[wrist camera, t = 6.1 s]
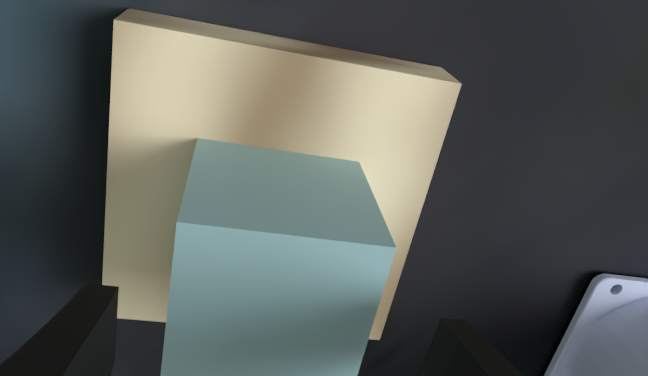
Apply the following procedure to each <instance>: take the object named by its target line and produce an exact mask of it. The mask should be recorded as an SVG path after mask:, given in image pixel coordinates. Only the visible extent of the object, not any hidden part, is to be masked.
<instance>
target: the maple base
mask: <svg viewBox="0 0 648 376" xmlns="http://www.w3.org/2000/svg"><path fill="white" fill-rule="evenodd" d="M461 85H462V84H461V83H460V82H459V81H458V80H456V79H455V78H454V77H453V76H451V75H450V74H449V73H448V72H446V71H445V70H444V69H443V68H441V67H436V66H431V65H426V64H420V63H415V62H410V61H405V60H399V59H394V58H389V57H384V56H378V55H373V54H368V53H362V52H357V51H352V50H347V49H341V48H336V47H331V46H325V45H320V44H315V43H310V42H304V41H299V40H294V39H288V38H283V37H278V36H273V35H267V34H262V33H257V32H252V31H246V30H241V29H236V28H230V27H225V26H220V25H215V24H209V23H204V22H199V21H193V20H188V19H183V18H178V17H172V16H167V15H162V14H156V13H151V12H146V11H141V10H135V9H130V8H129V9H127V10H126V11H125V12H123V13H122V14H120V15H119V16H118V17H116V18H115V19H114V22H113V46H112V69H111V92H110V115H109V138H108V161H107V184H106V207H105V230H104V253H103V276H102V285H107V286H117V287H119V292H118V308H117V318H121V319H133V320H145V321H157V322H166V319H167V309H168V300H169V290H170V281H171V271H172V262H173V252H174V243H175V233H176V224H177V219H178V215H179V211H180V207H181V203H182V199H183V195H184V191H185V187H186V183H187V179H188V175H189V171H190V167H191V163H192V159H193V155H194V151H195V147H196V143H197V139H198V138H201V139H208V140H214V141H221V142H228V143H235V144H242V145H248V146H255V147H262V148H269V149H276V150H282V151H289V152H296V153H303V154H309V155H316V156H323V157H330V158H337V159H343V160H350V161H357V162H360V165H361V167H362V169H363V172H364V174H365V176H366V179H367V181H368V183H369V185H370V188H371V190H372V192H373V195H374V197H375V199H376V202H377V204H378V206H379V209H380V211H381V213H382V215H383V218H384V220H385V222H386V225H387V227H388V229H389V232H390V234H391V236H392V239H393V241H394V243H395V245H396V251H395V254H394V258H393V261H392V264H391V267H390V271H389V274H388V277H387V280H386V284H385V287H384V290H383V293H382V297H381V300H380V303H379V306H378V310H377V313H376V316H375V320H374V323H373V326H372V329H371V333H370V336H369V339H373V340H380V337H381V334H382V331H383V328H384V325H385V322H386V319H387V316H388V313H389V309H390V306H391V303H392V300H393V297H394V294H395V291H396V288H397V284H398V281H399V278H400V275H401V272H402V269H403V266H404V263H405V259H406V256H407V253H408V250H409V247H410V244H411V241H412V238H413V234H414V231H415V228H416V225H417V222H418V219H419V216H420V213H421V209H422V206H423V203H424V200H425V197H426V194H427V191H428V188H429V184H430V181H431V178H432V175H433V172H434V169H435V166H436V163H437V159H438V156H439V153H440V150H441V147H442V144H443V141H444V138H445V134H446V131H447V128H448V125H449V122H450V119H451V116H452V113H453V110H454V106H455V103H456V100H457V97H458V94H459V91H460V88H461Z"/></svg>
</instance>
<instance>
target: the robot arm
mask: <svg viewBox="0 0 648 376" xmlns="http://www.w3.org/2000/svg"><path fill="white" fill-rule="evenodd" d="M613 286H615V287H613ZM612 287H613V288H612ZM118 292H119V287H117V286H107V285H97V284H87V285H85V286H84V287H82V288H81V289H80V291H79V292H78V293H77V294H76V295H75V296H74V297H73V298H72V299H71V300H70V301H69V302H68V303H67V304H66V305H65V306H64V307H63V308H62V309H61V310H60V311H59V312H58V313H57V314H56V315H55V316H54V317H53V318H52V319H51V320H50V321H49V322H48V323H47V324H46V325H45V326H43V327H42V328H41V329H40V330H39V331H38V332H37V333H36V334H35V335H34V336H32V337H31V338H30V339H29V340H28V341H27V342H26V343H25V344H24V345H23V346H22V347H20V348H19V349H18V350H17V351H16V352H15V353H14V354H12V355H11V356H10V357H9V358H8V359H6V360H5V361H4V362H3V363H1V364H0V376H111V372H112V368H113V365H114V359H115V342H116V325H117V308H118ZM420 376H523V375H522V374H521V373H520V372H519V371H518V370H517V369H516V368H515V367H514V366H513V365H512V364H511V363H510V362H509V361H508V360H507V359H506V358H505V357H503V356H502V355H501V354H500V353H499V352H498V351H497V350H496V349H495V348H494V347H493V346H492V345H491V344H490V343H489V342H488V341H487V340H486V339H485V338H484V337H483V336H482V335H481V334H480V333H479V332H477V331H476V330H475V329H474V328H473V327H472V326H471V325H470V324H468V323H467V322H466V321H464V320H454V319H444V318H441V319H440V322H439V324H438V327H437V330H436V332H435V335H434V338H433V340H432V343H431V346H430V349H429V351H428V354H427V357H426V359H425V362H424V365H423V367H422V370H421V373H420ZM544 376H648V279H647V278H639V277H630V276H622V275H613V274H600V275H597V276H596V277H595V278H593V280H592V281H591V282H590V284H589V286H588V288H587V290H586V292H585V294H584V296H583V298H582V300H581V302H580V304H579V306H578V308H577V310H576V312H575V314H574V316H573V318H572V320H571V322H570V324H569V326H568V328H567V330H566V332H565V334H564V336H563V338H562V340H561V342H560V344H559V346H558V348H557V350H556V352H555V354H554V356H553V358H552V360H551V362H550V364H549V366H548V368H547V370H546V372H545V374H544Z"/></svg>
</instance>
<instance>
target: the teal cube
mask: <svg viewBox="0 0 648 376" xmlns="http://www.w3.org/2000/svg"><path fill="white" fill-rule="evenodd" d="M395 251H396V245H395V243H394V241H393V239H392V236H391V234H390V232H389V229H388V227H387V225H386V222H385V220H384V218H383V215H382V213H381V211H380V209H379V206H378V204H377V202H376V199H375V197H374V195H373V192H372V190H371V188H370V185H369V183H368V181H367V179H366V176H365V174H364V172H363V169H362V167H361V165H360V162H357V161H350V160H343V159H337V158H330V157H323V156H316V155H309V154H303V153H296V152H289V151H282V150H276V149H269V148H262V147H255V146H248V145H242V144H235V143H228V142H221V141H214V140H208V139H201V138H198V139H197V143H196V147H195V151H194V155H193V159H192V163H191V167H190V171H189V175H188V179H187V183H186V187H185V191H184V195H183V199H182V203H181V207H180V211H179V215H178V219H177V224H176V233H175V243H174V252H173V262H172V271H171V281H170V290H169V300H168V309H167V319H166V328H165V338H164V347H163V357H162V366H161V376H357V375H358V372H359V368H360V365H361V362H362V359H363V355H364V352H365V349H366V346H367V342H368V339H369V336H370V333H371V329H372V326H373V323H374V320H375V316H376V313H377V310H378V306H379V303H380V300H381V297H382V293H383V290H384V287H385V284H386V280H387V277H388V274H389V271H390V267H391V264H392V261H393V258H394V254H395Z"/></svg>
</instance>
